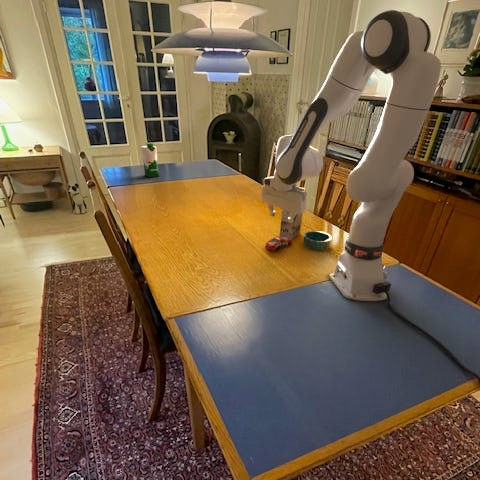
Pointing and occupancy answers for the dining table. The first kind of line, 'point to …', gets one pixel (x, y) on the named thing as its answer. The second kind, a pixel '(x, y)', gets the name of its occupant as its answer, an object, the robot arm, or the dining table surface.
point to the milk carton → (150, 160)
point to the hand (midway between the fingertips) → (281, 219)
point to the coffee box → (290, 225)
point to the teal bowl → (317, 240)
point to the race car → (277, 243)
